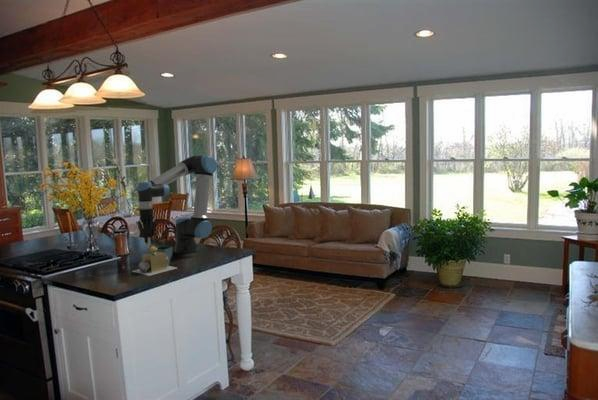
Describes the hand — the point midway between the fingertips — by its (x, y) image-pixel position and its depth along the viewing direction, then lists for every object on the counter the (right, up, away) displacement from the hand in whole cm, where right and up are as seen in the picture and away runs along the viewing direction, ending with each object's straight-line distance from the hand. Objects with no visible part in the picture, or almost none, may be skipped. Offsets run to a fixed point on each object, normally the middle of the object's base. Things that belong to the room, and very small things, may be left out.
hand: (148, 248), depth 280 cm
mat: (+6, -12, -7) cm, 15 cm away
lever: (+4, 0, -4) cm, 5 cm away
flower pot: (+5, -10, +13) cm, 17 cm away
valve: (+6, -11, -7) cm, 15 cm away
